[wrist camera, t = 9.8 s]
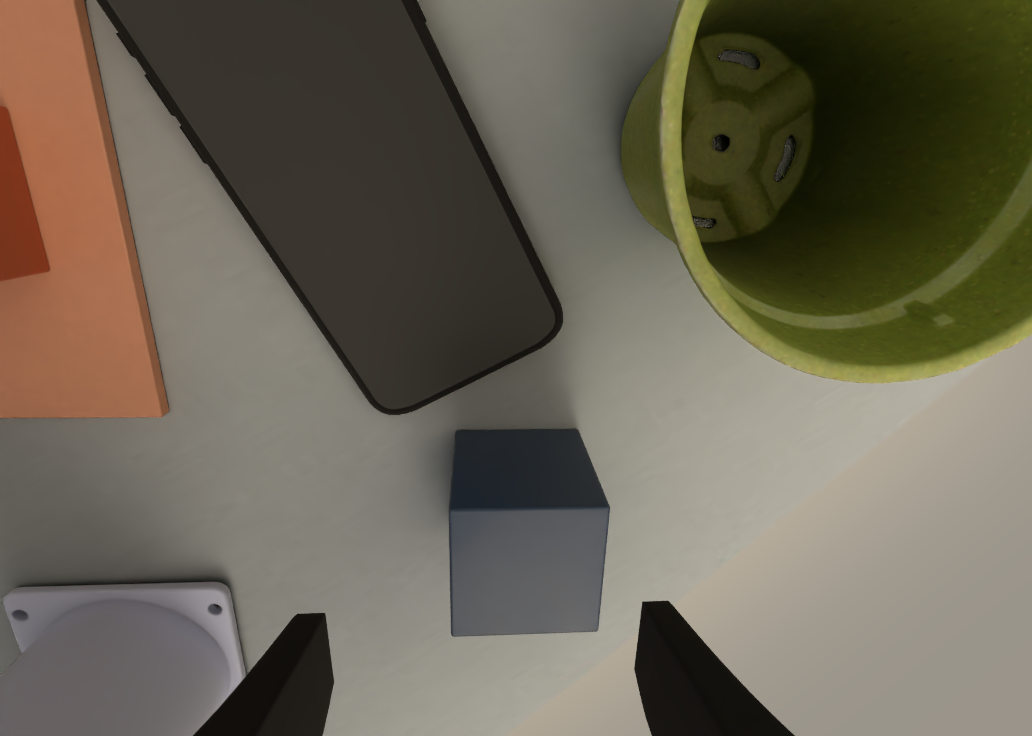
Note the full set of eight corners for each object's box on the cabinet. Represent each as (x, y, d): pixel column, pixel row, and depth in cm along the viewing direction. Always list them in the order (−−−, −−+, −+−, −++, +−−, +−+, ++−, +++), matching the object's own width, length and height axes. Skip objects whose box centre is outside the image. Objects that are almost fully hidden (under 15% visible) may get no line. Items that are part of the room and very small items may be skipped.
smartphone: (382, 430, 18) (53, -53, 13) (386, 418, 19) (79, -39, 14) (577, 332, 17) (311, -219, 12) (572, 325, 18) (322, -192, 13)
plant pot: (909, -1, 16) (1389, -208, 7) (807, 310, 18) (1069, 409, 10) (600, -66, 14) (762, -391, 6) (546, 274, 17) (606, 354, 9)
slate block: (571, 531, 21) (598, 632, 16) (457, 534, 21) (450, 637, 16) (578, 428, 19) (610, 506, 15) (455, 429, 19) (448, 510, 14)
